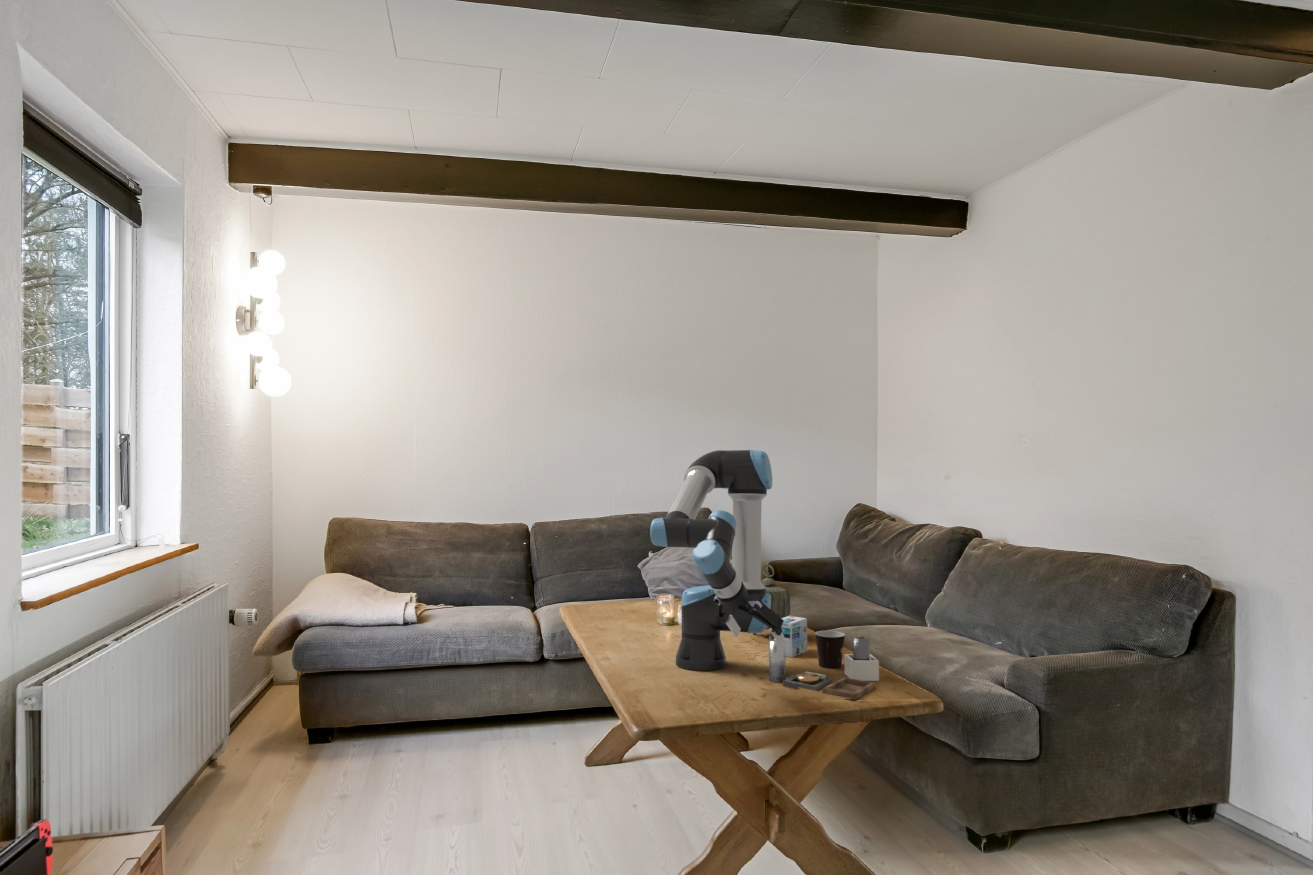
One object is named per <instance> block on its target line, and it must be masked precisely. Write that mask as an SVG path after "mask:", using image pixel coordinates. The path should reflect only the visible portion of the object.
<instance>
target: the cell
mask: <svg viewBox="0 0 1313 875" xmlns="http://www.w3.org/2000/svg"><path fill="white" fill-rule="evenodd" d="M786 658H787V656H786V641H785V640H782V643H781V645H780V644H778V643H777V641H776V640H775V639H771V640H769V639H768V666H769V667H768V680H769V682H772V683H776V684H777V683H780V682H781V683H783V681H784V680H786V679H787V677H786V676H787V675H786V671H787V670H786V664H787V663H786V662H787V660H786ZM781 683H780V684H781Z"/></svg>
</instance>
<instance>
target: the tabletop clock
mask: <svg viewBox="0 0 1313 875" xmlns="http://www.w3.org/2000/svg"><path fill="white" fill-rule="evenodd" d="M766 567H767V568H770V569H771V570H772V574H771V573H770V572H765V568H766ZM762 573H763V575H764V577H765V578H763V579H762V580H761V582H762V584H763V585H764V586H765V587H766V593H768V594H770V595H771V610H772V611H773V612H774V613H775V614H777V615H778V616H779V617H780V618H784V617H787V616H791V595H790V592H789V591H788V590H787V589H786V588H784V587H782V586H779V585H777V583H776V581H775V579H773V578H772V577H774V575H775V569H774V567H773V566H772V565H770V564H764V565H763V567H762ZM766 630H770V627H768V626H767V627H766V629H765V630H764V631H766ZM752 634H753V635H756V634H757V633H752ZM771 639H774V636H773V635H772V633H771V632H770V635H769V636H768V641H769V640H771Z"/></svg>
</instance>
